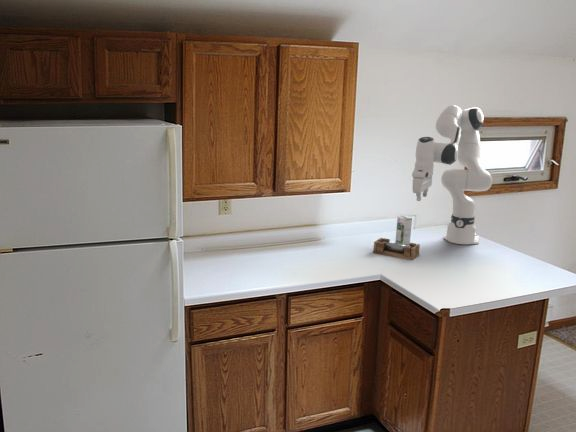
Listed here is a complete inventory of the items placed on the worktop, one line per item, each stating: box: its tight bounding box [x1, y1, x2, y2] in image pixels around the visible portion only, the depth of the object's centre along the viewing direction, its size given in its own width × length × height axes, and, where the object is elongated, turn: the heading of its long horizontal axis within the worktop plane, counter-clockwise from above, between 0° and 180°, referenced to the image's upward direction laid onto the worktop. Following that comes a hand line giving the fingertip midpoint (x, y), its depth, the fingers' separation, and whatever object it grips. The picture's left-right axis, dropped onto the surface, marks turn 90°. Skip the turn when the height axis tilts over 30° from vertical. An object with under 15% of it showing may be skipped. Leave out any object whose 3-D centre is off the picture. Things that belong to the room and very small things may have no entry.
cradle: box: [372, 237, 421, 261], centre depth 288 cm, size 10×20×6 cm, turn 60°
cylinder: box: [384, 241, 411, 253], centre depth 287 cm, size 4×14×4 cm, turn 60°
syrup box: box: [394, 215, 413, 245], centre depth 305 cm, size 6×6×14 cm
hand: (421, 198), depth 285 cm, fingers open, 8 cm apart
